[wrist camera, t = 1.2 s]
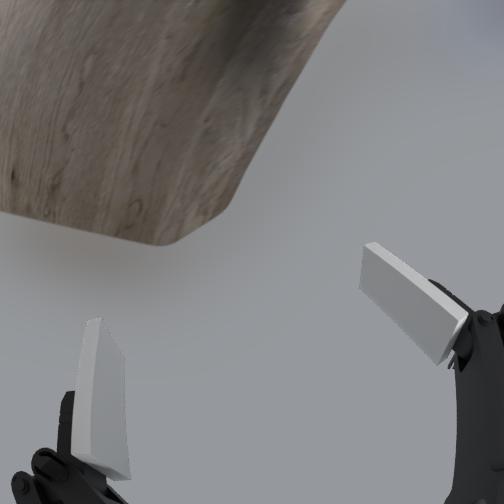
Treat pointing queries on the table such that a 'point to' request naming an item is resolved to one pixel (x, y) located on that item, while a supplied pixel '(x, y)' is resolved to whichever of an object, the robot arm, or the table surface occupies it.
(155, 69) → the table surface
